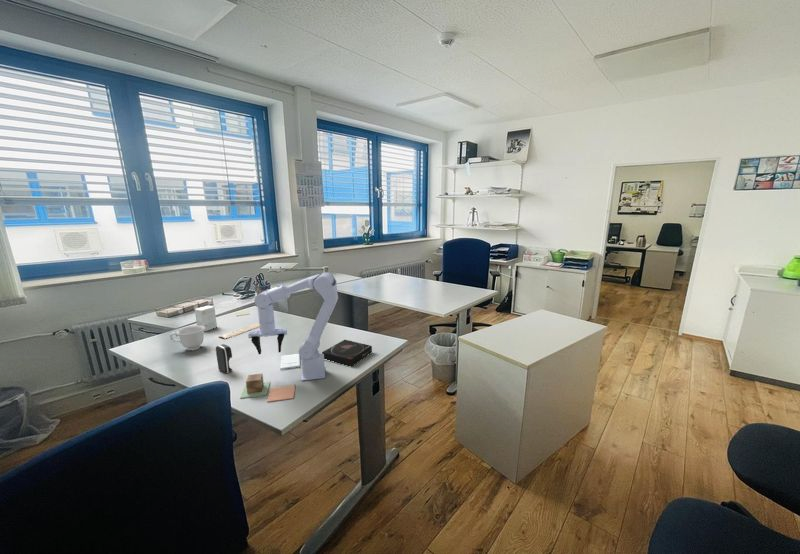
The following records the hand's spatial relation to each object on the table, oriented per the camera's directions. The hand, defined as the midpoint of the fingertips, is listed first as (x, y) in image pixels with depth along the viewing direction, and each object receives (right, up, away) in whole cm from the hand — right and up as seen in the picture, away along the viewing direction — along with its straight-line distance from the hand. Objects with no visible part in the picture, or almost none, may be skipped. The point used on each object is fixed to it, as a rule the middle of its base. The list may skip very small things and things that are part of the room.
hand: (269, 352), depth 132 cm
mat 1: (-2, -13, -9) cm, 15 cm away
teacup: (-52, -5, +29) cm, 60 cm away
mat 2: (+9, -13, -11) cm, 19 cm away
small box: (-60, 0, +57) cm, 82 cm away
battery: (-22, -10, +7) cm, 25 cm away
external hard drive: (+4, -9, +14) cm, 17 cm away
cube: (-2, -12, -9) cm, 15 cm away
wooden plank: (-38, -1, +52) cm, 65 cm away
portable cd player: (+29, -7, +20) cm, 36 cm away
